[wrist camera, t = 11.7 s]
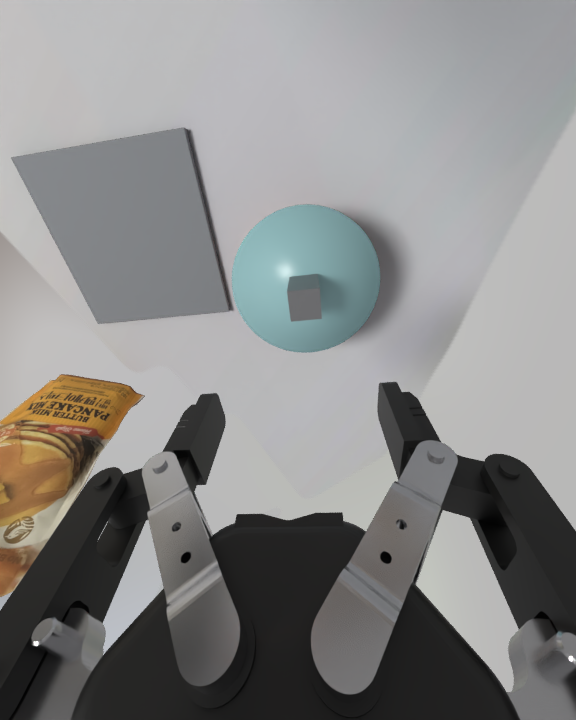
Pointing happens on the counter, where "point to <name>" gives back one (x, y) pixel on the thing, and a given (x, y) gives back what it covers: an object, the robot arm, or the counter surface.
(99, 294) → the mat
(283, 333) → the lid
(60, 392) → the pancake mix bag
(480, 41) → the counter surface
